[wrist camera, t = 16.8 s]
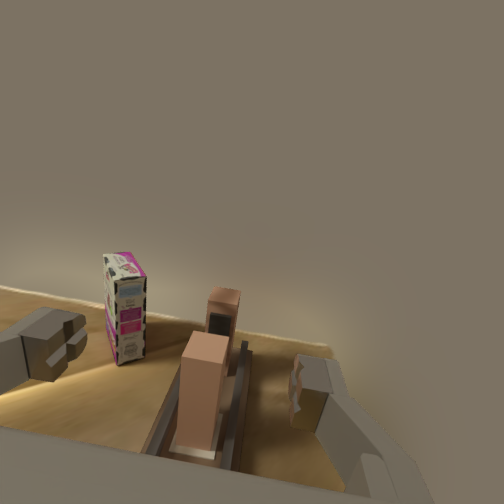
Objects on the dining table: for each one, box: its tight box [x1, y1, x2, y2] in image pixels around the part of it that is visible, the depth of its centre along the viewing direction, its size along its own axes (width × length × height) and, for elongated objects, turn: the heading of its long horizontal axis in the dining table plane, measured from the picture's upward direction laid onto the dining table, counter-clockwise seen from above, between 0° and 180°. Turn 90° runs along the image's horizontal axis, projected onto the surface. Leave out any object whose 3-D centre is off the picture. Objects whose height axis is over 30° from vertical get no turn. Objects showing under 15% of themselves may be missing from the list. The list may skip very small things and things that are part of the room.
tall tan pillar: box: [176, 331, 229, 451], centre depth 33 cm, size 4×5×14 cm
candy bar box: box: [103, 252, 147, 366], centre depth 47 cm, size 11×5×16 cm, turn 35°
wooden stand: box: [141, 287, 253, 472], centre depth 38 cm, size 12×22×16 cm, turn 175°
